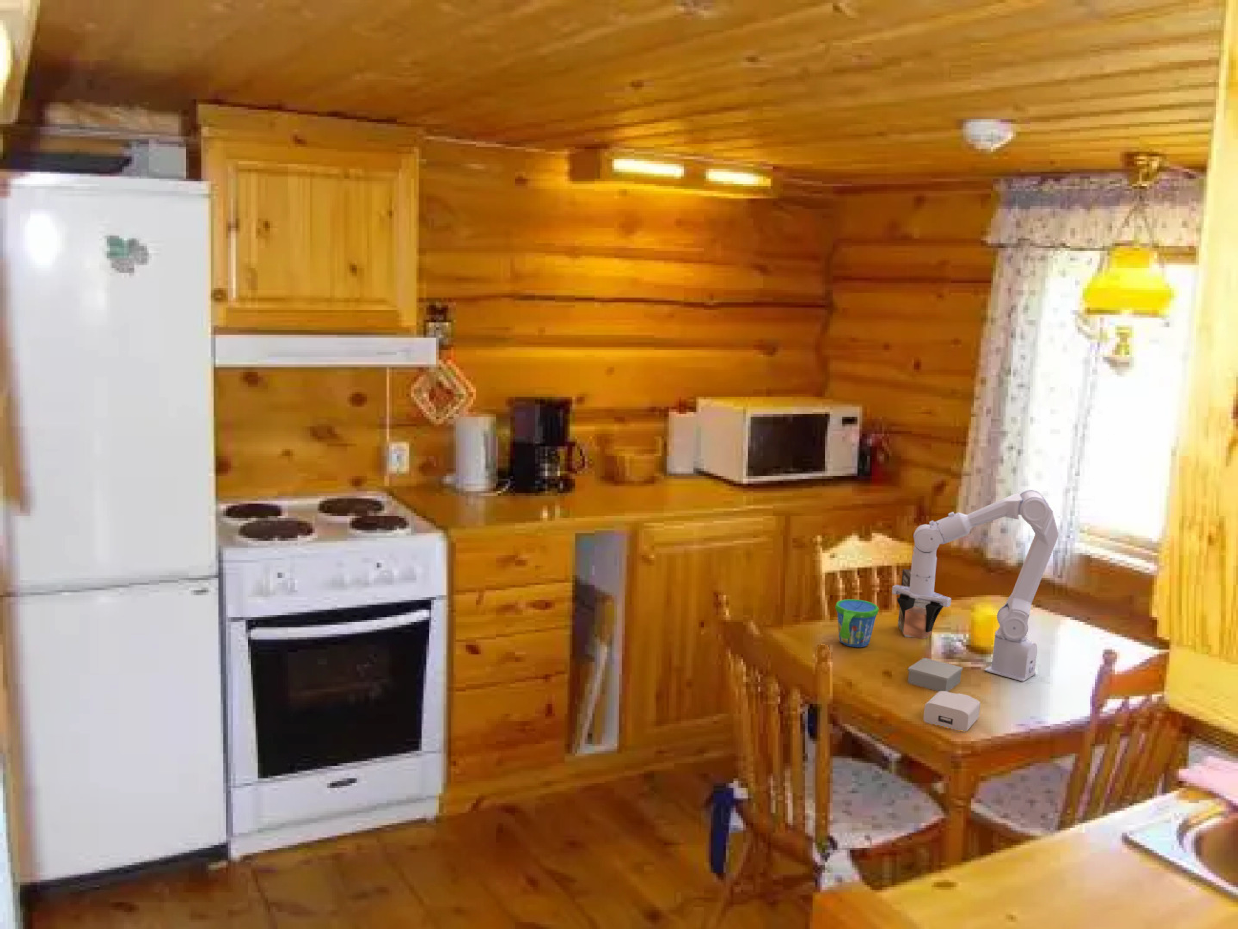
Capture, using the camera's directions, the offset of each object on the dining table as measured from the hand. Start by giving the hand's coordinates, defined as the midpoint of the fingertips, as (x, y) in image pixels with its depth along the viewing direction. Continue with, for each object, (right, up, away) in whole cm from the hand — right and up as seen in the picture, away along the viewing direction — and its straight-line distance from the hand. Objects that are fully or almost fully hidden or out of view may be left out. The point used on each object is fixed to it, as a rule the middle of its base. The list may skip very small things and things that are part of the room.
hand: (918, 628), depth 271 cm
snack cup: (-13, -6, +13) cm, 19 cm away
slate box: (0, -11, -12) cm, 17 cm away
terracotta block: (0, -2, 0) cm, 2 cm away
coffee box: (+5, -5, +24) cm, 24 cm away
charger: (0, -15, -31) cm, 35 cm away
